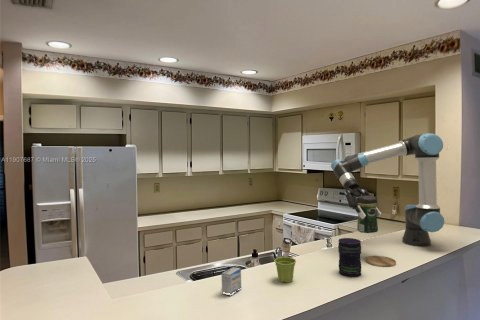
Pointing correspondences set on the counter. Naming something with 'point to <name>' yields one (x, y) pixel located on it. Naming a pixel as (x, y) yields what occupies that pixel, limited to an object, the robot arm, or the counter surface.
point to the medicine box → (231, 280)
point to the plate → (380, 261)
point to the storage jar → (349, 257)
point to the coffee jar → (367, 214)
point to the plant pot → (285, 268)
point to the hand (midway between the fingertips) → (371, 216)
